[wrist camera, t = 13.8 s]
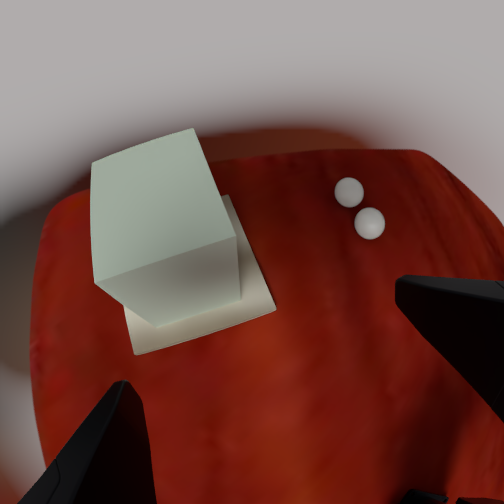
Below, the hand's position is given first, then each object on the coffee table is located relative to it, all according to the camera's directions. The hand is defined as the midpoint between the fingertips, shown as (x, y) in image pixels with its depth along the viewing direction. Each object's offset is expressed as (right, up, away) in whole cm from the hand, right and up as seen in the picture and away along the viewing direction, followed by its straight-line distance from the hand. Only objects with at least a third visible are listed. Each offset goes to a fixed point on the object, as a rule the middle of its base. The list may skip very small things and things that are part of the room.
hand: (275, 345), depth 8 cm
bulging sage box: (-6, +1, +15) cm, 17 cm away
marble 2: (+10, +5, +18) cm, 21 cm away
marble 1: (+9, +8, +19) cm, 23 cm away
